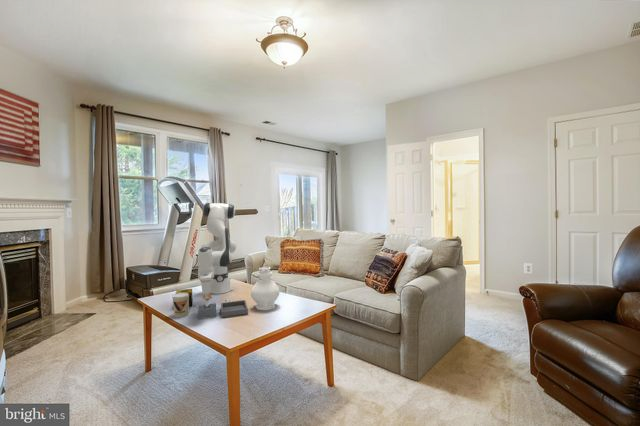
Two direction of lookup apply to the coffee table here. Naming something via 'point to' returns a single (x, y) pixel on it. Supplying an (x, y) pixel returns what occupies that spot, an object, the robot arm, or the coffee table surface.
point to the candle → (188, 293)
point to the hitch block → (207, 311)
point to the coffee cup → (181, 304)
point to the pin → (206, 299)
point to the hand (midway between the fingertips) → (206, 297)
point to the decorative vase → (265, 290)
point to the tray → (234, 308)
